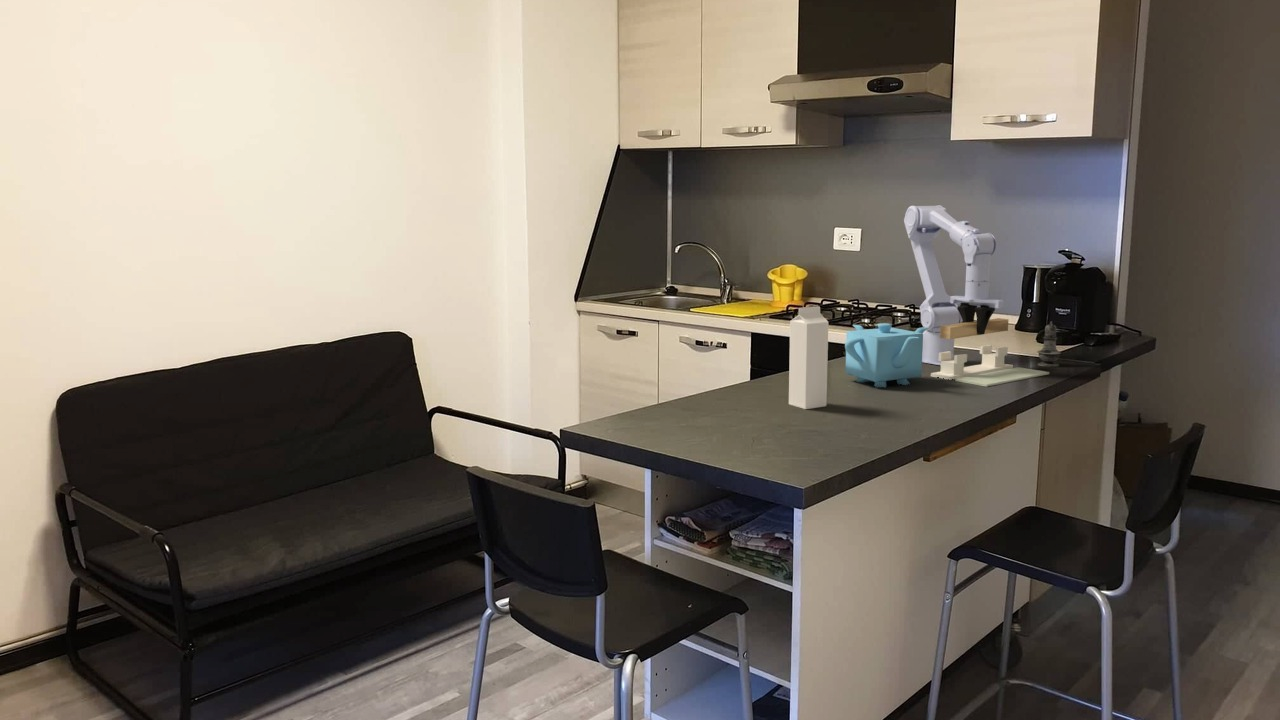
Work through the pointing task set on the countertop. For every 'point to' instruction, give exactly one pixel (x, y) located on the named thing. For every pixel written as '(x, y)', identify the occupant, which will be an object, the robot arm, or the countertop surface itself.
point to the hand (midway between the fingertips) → (974, 333)
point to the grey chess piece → (1049, 347)
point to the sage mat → (1001, 376)
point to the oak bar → (972, 328)
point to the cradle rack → (957, 369)
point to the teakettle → (884, 354)
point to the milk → (808, 359)
